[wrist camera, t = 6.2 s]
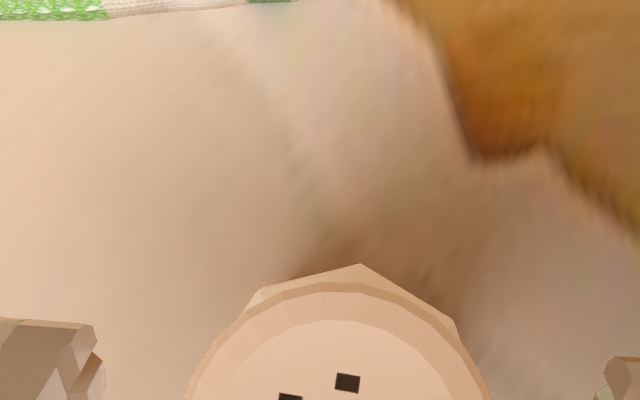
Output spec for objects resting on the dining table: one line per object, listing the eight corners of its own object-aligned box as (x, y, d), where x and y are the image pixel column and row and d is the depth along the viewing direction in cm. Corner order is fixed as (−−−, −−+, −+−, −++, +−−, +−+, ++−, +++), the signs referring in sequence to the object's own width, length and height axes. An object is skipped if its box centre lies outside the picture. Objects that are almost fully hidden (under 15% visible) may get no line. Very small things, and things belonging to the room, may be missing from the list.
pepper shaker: (262, 251, 16) (99, 99, 6) (455, 282, 16) (689, 182, 5) (224, 455, 15) (-76, 765, 4) (431, 494, 15) (665, 943, 4)
